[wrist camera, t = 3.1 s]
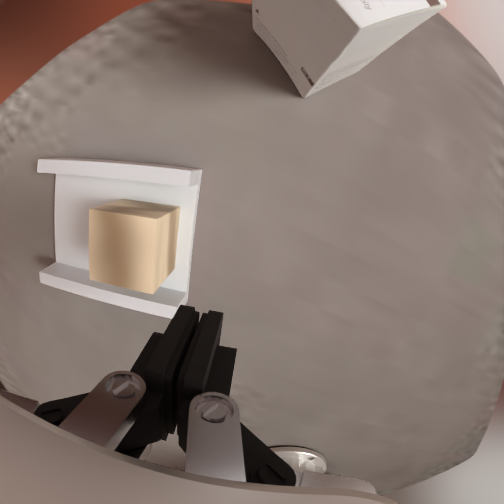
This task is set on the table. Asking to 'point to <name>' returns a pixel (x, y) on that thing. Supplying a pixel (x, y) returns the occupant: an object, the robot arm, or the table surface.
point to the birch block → (133, 243)
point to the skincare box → (334, 34)
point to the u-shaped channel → (105, 191)
